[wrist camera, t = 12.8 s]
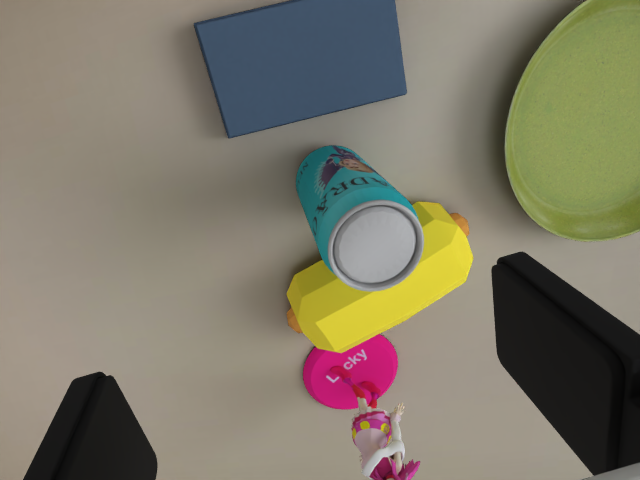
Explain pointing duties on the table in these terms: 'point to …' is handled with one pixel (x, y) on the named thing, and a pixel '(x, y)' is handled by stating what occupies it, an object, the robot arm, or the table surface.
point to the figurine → (363, 402)
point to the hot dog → (386, 305)
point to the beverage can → (358, 220)
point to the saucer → (580, 125)
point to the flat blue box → (301, 60)
